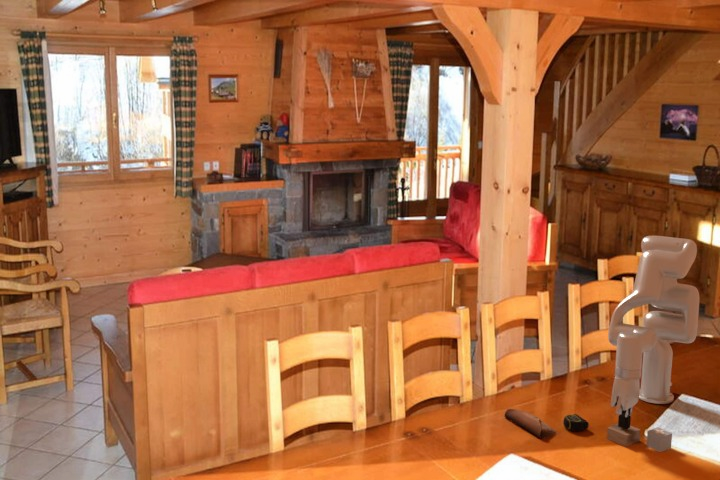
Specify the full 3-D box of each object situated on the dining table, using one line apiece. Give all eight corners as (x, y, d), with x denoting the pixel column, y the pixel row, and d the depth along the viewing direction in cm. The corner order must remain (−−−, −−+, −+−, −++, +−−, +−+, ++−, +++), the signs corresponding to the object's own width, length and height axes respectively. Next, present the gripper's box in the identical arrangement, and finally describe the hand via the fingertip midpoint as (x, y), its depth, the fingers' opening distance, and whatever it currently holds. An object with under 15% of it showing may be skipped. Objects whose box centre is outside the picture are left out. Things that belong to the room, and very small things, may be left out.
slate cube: (657, 442, 236) (658, 426, 235) (670, 448, 232) (672, 432, 231) (646, 445, 233) (647, 430, 232) (660, 452, 229) (661, 436, 228)
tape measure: (589, 431, 243) (590, 420, 242) (570, 434, 241) (571, 423, 240) (577, 422, 250) (577, 412, 249) (559, 425, 248) (559, 414, 247)
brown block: (620, 433, 242) (621, 421, 241) (639, 441, 236) (640, 429, 236) (606, 439, 238) (607, 427, 237) (626, 447, 232) (626, 435, 232)
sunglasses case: (560, 433, 241) (553, 418, 239) (545, 448, 239) (538, 433, 237) (523, 412, 257) (516, 398, 254) (509, 426, 255) (501, 412, 252)
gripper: (627, 362, 240) (623, 416, 244) (605, 374, 230) (601, 431, 234) (650, 368, 235) (646, 423, 239) (628, 381, 225) (624, 438, 228)
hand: (623, 427), depth 236 cm, fingers closed
